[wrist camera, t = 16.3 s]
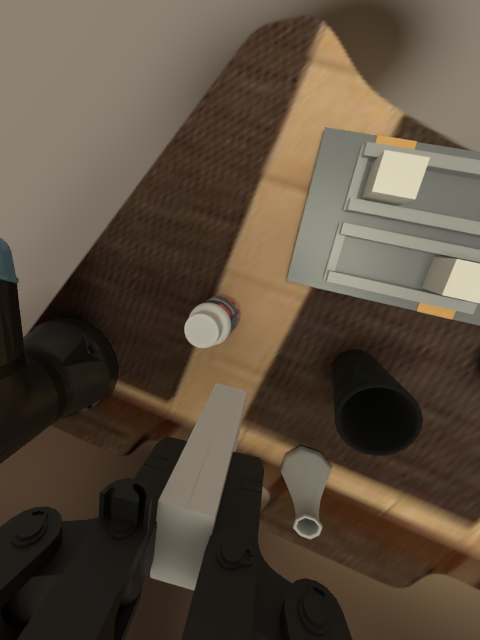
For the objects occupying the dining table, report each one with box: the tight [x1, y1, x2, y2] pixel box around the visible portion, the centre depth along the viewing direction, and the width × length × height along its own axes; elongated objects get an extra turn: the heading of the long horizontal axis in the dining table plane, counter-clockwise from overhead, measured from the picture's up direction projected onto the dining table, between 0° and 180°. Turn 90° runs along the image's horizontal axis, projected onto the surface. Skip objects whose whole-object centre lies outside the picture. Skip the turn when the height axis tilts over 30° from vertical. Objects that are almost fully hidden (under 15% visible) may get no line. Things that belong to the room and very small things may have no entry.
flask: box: [280, 446, 332, 539], centre depth 39 cm, size 7×7×10 cm
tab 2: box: [422, 257, 480, 303], centre depth 31 cm, size 4×4×5 cm
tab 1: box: [361, 150, 430, 206], centre depth 30 cm, size 4×4×5 cm
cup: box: [333, 350, 423, 456], centre depth 33 cm, size 8×8×12 cm
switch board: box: [287, 127, 480, 326], centre depth 32 cm, size 25×17×3 cm
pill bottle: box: [184, 295, 240, 348], centre depth 36 cm, size 5×5×9 cm
